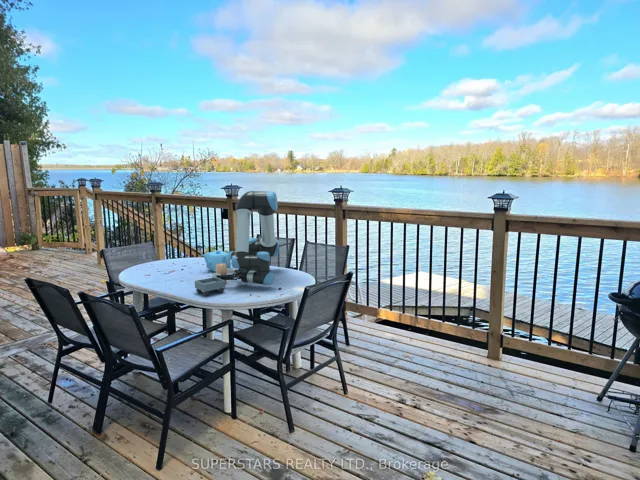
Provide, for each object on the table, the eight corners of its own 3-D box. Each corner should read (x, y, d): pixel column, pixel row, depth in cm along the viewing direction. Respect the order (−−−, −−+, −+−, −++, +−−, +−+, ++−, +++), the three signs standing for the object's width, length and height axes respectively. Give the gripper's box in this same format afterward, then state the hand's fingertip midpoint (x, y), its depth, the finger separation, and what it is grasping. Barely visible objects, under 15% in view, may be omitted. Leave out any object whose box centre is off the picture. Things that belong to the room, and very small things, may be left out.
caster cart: (215, 288, 235) (215, 276, 234) (225, 292, 227) (225, 280, 226) (195, 292, 226) (194, 280, 224) (204, 297, 218) (204, 284, 217)
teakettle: (211, 267, 288) (210, 247, 285) (236, 268, 285) (235, 248, 283) (200, 273, 269) (199, 252, 267) (226, 275, 267) (226, 253, 264)
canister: (223, 281, 251) (222, 262, 249) (228, 283, 247) (228, 264, 245) (214, 282, 247) (213, 264, 245) (219, 285, 242) (219, 265, 240)
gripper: (238, 287, 227) (207, 283, 234) (259, 277, 250) (231, 274, 257) (237, 275, 226) (207, 271, 233) (259, 266, 249) (231, 263, 256)
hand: (219, 273), depth 245 cm, fingers open, 13 cm apart
